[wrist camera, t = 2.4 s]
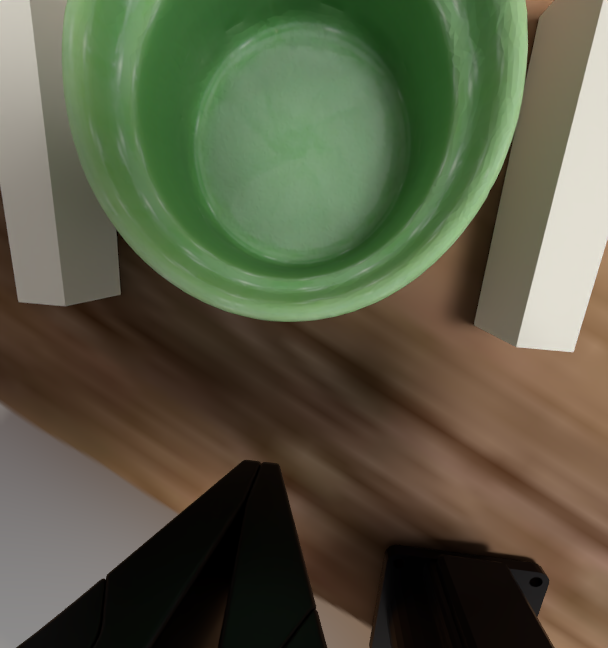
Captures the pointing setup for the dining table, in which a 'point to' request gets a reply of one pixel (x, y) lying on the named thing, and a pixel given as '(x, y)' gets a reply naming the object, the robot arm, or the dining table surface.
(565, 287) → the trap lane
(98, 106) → the ramekin
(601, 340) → the dining table surface
